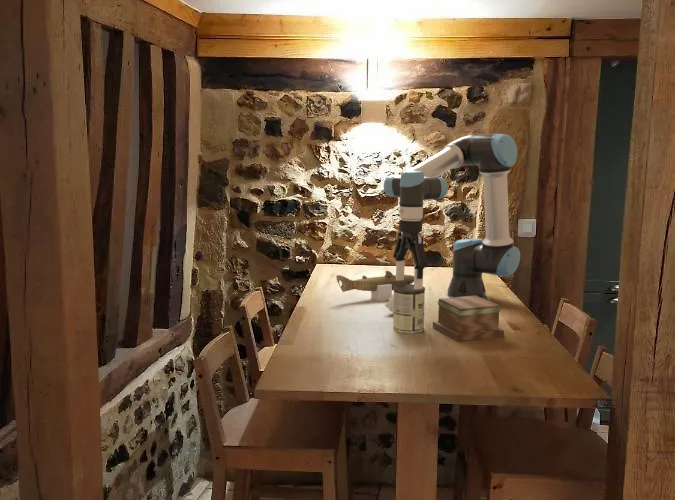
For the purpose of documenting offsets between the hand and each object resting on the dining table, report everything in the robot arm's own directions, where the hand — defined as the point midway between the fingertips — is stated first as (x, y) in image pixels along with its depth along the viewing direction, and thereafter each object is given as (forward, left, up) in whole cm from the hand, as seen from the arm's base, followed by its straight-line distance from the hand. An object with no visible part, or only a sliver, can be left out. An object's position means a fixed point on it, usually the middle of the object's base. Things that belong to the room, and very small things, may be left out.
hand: (408, 284), depth 205 cm
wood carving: (-6, -41, -15) cm, 44 cm away
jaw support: (-9, -21, -16) cm, 28 cm away
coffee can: (0, 0, -15) cm, 15 cm away
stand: (-17, +9, -15) cm, 25 cm away
